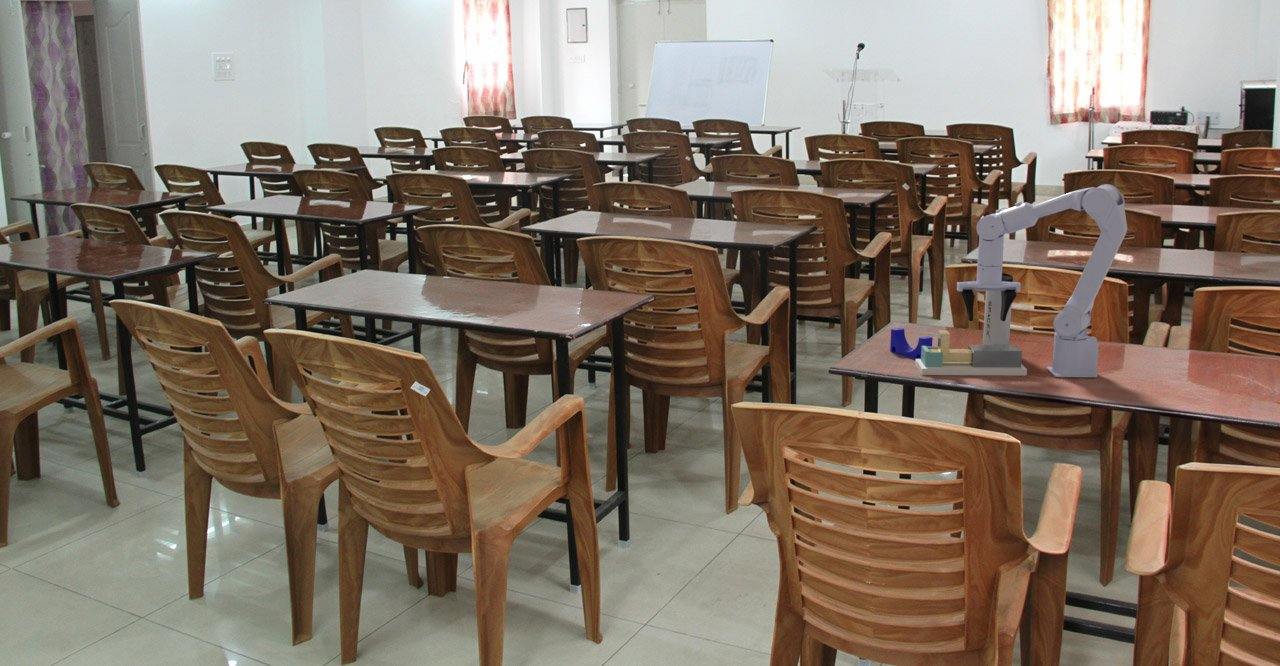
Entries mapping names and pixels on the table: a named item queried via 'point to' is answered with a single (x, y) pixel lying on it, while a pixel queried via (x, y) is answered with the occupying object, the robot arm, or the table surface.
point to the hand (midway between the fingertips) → (986, 320)
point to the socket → (931, 357)
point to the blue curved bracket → (903, 348)
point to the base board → (968, 369)
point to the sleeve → (996, 356)
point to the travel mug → (996, 318)
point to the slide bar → (951, 350)
